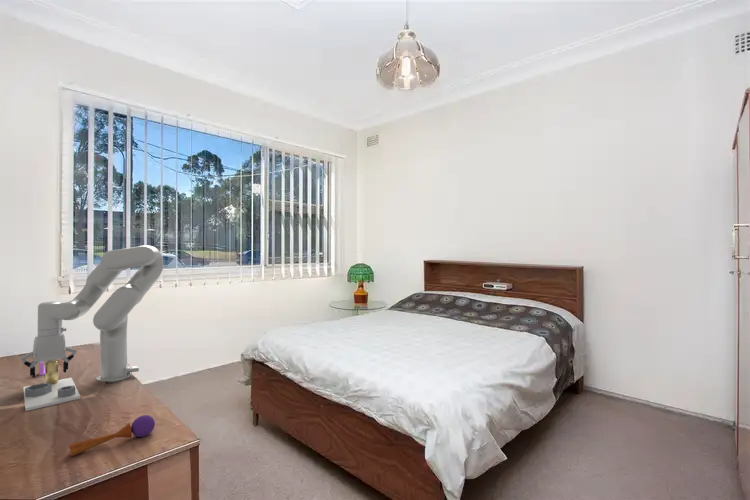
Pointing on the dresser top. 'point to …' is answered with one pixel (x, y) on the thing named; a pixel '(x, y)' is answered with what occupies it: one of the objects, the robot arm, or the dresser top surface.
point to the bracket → (41, 368)
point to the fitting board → (50, 394)
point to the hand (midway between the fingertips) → (49, 374)
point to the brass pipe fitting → (51, 372)
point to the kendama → (117, 434)
